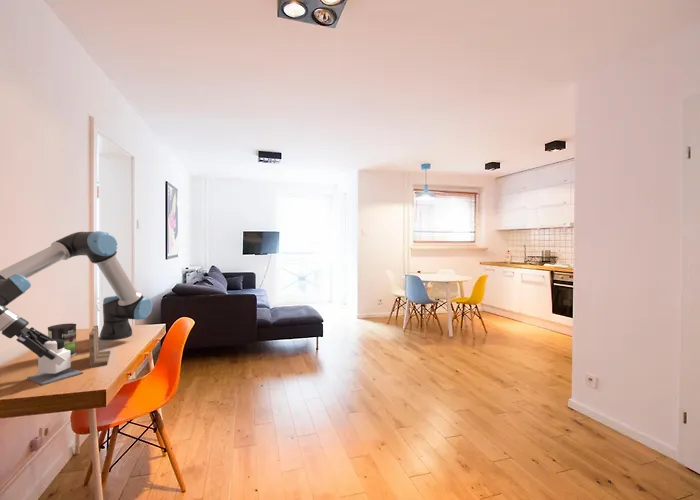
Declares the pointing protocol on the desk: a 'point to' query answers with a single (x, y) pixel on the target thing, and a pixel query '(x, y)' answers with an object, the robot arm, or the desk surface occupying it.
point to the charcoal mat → (54, 376)
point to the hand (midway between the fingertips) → (64, 358)
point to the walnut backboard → (97, 350)
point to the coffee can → (64, 335)
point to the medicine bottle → (51, 367)
